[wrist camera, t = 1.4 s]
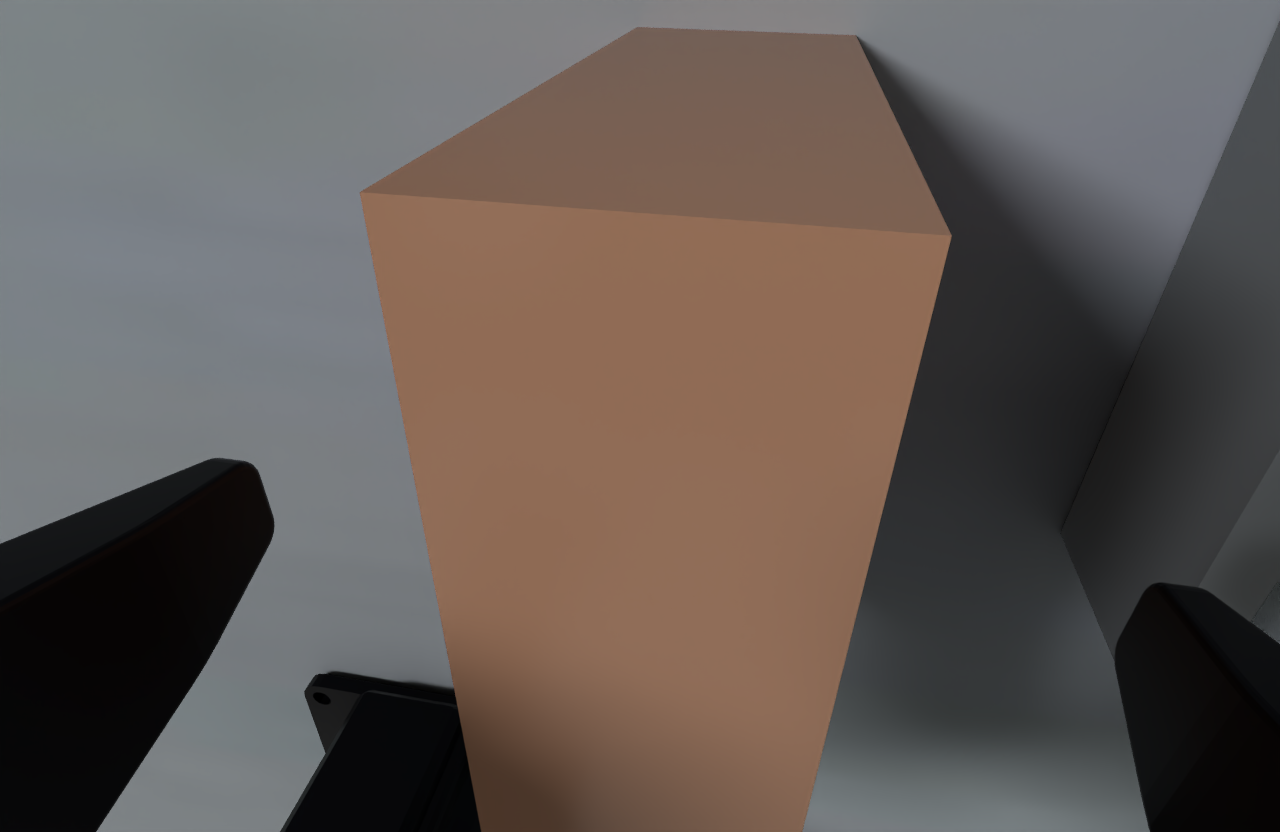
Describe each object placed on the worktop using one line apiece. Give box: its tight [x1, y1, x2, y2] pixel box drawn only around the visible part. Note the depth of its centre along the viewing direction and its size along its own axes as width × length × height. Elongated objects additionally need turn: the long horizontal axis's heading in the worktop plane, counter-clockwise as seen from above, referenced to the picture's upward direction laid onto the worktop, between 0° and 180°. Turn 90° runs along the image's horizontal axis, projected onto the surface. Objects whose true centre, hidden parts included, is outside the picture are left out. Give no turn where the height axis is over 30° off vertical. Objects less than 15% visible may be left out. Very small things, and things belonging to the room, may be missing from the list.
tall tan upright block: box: [360, 27, 952, 832], centre depth 9 cm, size 8×3×8 cm, turn 179°
